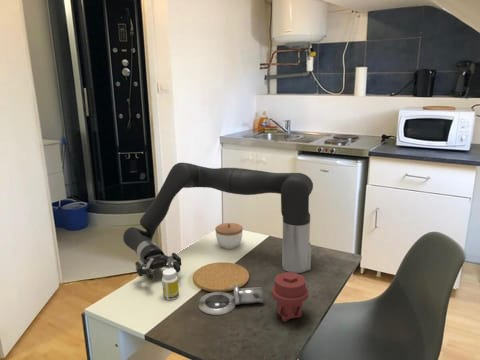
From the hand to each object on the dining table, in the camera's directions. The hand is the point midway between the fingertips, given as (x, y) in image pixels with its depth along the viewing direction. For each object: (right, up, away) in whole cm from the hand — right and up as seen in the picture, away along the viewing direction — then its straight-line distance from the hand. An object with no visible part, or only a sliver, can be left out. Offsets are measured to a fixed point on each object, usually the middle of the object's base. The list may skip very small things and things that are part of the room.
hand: (165, 273), depth 121 cm
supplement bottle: (+2, -7, -2) cm, 7 cm away
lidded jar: (+19, +3, +33) cm, 38 cm away
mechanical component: (+37, -9, -13) cm, 40 cm away
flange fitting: (+21, -7, -7) cm, 23 cm away
